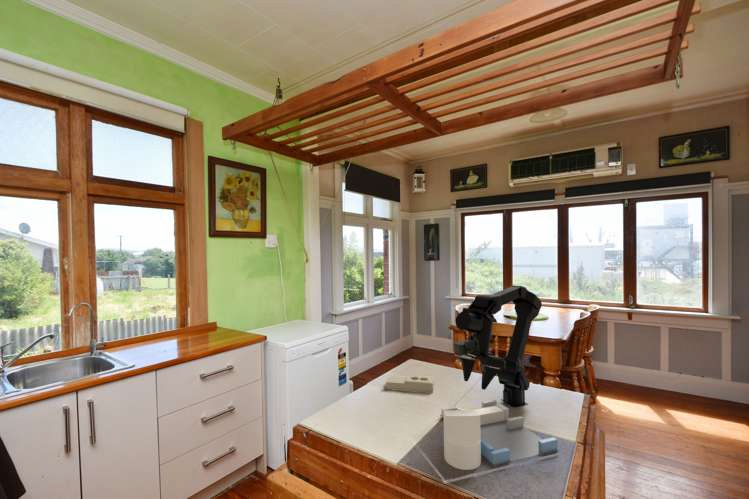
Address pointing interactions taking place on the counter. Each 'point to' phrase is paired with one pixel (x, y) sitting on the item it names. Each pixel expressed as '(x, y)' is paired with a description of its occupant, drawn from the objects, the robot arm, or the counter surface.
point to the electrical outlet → (411, 383)
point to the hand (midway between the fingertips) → (474, 385)
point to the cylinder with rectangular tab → (462, 438)
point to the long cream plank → (493, 414)
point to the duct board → (510, 439)
